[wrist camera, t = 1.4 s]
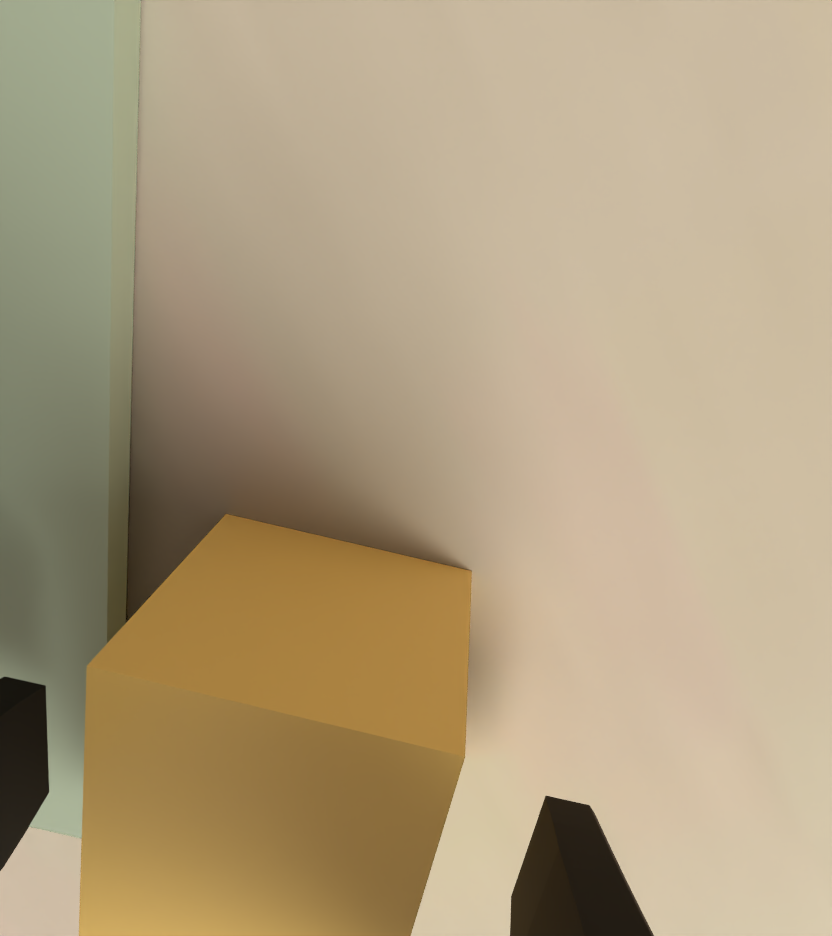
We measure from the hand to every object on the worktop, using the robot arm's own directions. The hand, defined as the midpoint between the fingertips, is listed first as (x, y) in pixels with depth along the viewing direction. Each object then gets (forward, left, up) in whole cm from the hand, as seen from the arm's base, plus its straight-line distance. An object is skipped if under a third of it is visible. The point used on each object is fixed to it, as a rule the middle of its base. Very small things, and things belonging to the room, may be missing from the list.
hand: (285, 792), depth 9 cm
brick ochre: (0, 0, -2) cm, 2 cm away
